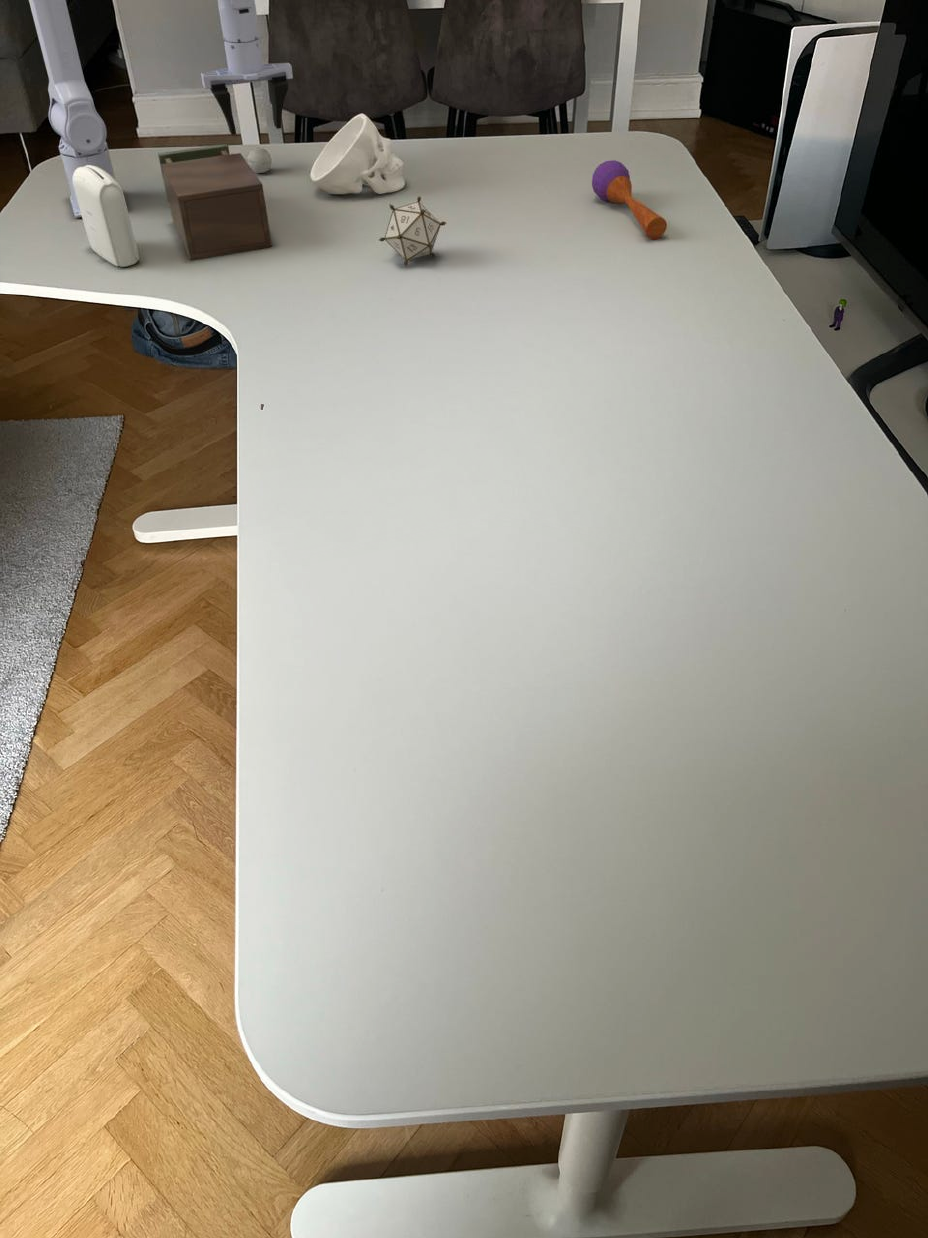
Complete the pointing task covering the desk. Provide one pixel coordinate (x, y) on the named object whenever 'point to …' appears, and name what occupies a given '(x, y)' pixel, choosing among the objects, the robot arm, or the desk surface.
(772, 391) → the desk surface
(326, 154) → the skull bowl
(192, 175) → the cabinet
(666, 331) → the desk surface
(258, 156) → the golf ball
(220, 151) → the drawer
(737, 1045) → the desk surface
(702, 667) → the desk surface
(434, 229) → the game die
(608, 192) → the purple and orange maraca
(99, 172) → the photo printer
